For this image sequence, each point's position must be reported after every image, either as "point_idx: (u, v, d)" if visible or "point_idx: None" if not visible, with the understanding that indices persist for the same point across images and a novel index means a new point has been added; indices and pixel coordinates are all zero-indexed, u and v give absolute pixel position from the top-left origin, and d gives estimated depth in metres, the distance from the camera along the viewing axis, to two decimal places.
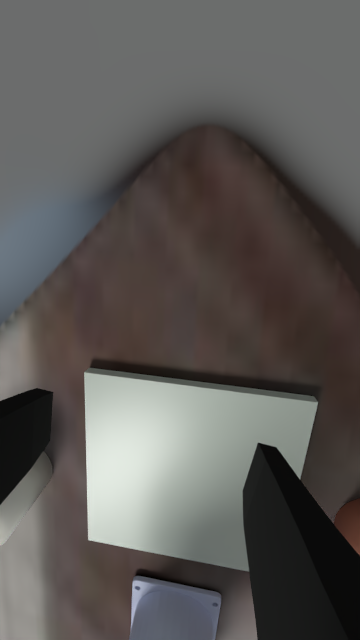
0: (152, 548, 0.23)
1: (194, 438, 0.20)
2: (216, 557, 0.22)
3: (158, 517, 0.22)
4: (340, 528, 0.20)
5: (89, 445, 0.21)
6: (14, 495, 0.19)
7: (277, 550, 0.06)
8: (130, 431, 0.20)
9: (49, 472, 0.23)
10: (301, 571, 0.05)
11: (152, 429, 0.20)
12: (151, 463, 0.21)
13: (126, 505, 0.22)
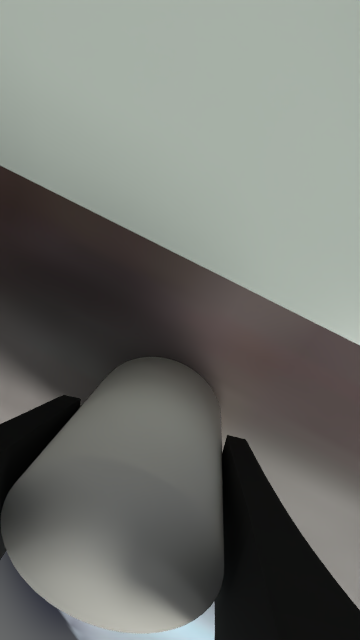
0: None
1: None
2: None
3: None
4: None
5: (120, 216, 0.08)
6: (105, 421, 0.06)
7: (233, 537, 0.06)
8: (104, 68, 0.07)
9: (180, 368, 0.10)
10: (248, 556, 0.05)
11: None
12: (221, 35, 0.07)
13: (340, 192, 0.07)
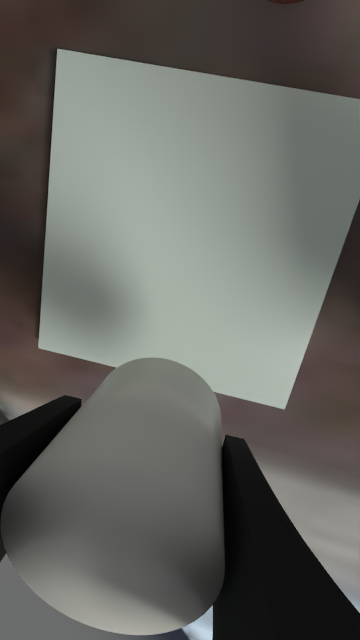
0: (307, 319, 0.15)
1: (115, 229, 0.15)
2: (334, 217, 0.14)
3: (246, 299, 0.15)
4: None
5: None
6: (105, 421, 0.06)
7: (231, 537, 0.06)
8: (109, 312, 0.16)
9: (180, 369, 0.10)
10: (246, 555, 0.05)
11: (105, 283, 0.16)
12: (155, 293, 0.16)
13: (223, 341, 0.16)
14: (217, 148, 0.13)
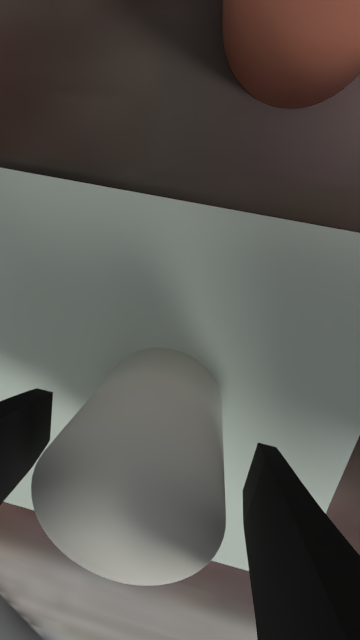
0: (323, 490, 0.12)
1: (75, 376, 0.12)
2: (358, 378, 0.10)
3: (244, 463, 0.12)
4: (284, 92, 0.08)
5: None
6: (121, 398, 0.07)
7: (277, 550, 0.06)
8: None
9: (184, 358, 0.10)
10: (301, 571, 0.05)
11: None
12: None
13: None
14: (202, 290, 0.10)
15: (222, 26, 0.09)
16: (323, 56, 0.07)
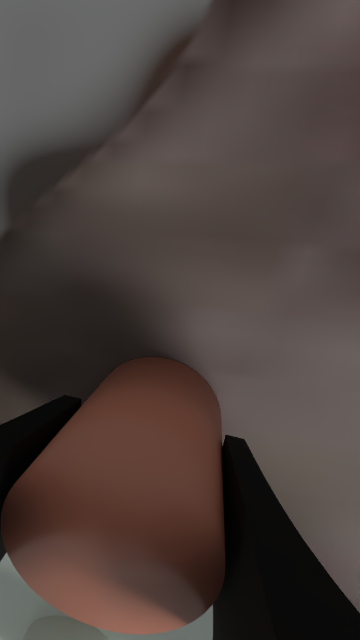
0: None
1: (0, 624, 0.14)
2: None
3: None
4: None
5: None
6: None
7: (231, 537, 0.06)
8: None
9: (82, 635, 0.13)
10: (246, 555, 0.05)
11: None
12: None
13: None
14: None
15: None
16: None
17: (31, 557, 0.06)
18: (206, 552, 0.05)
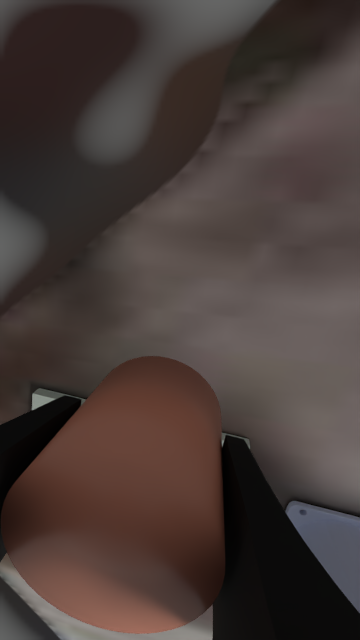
0: None
1: None
2: None
3: None
4: None
5: None
6: None
7: (231, 537, 0.06)
8: None
9: None
10: (245, 555, 0.05)
11: None
12: None
13: None
14: None
15: None
16: None
17: (31, 556, 0.06)
18: (206, 550, 0.05)
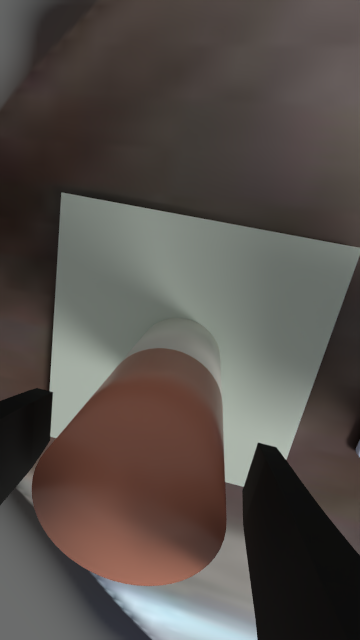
0: (292, 420, 0.16)
1: (116, 339, 0.17)
2: (313, 337, 0.15)
3: (236, 401, 0.17)
4: None
5: None
6: (159, 339, 0.12)
7: (277, 550, 0.06)
8: None
9: (194, 324, 0.15)
10: (301, 571, 0.05)
11: None
12: None
13: None
14: (206, 277, 0.15)
15: None
16: None
17: (58, 517, 0.07)
18: (210, 508, 0.06)
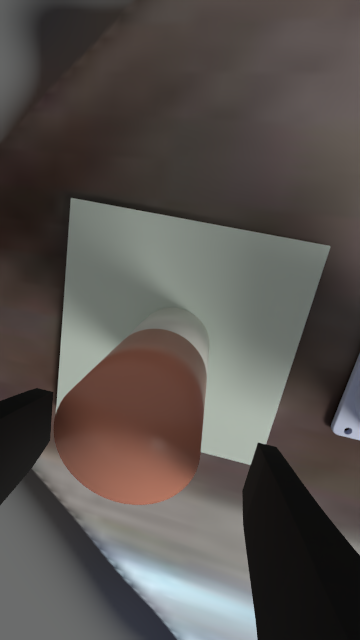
0: (273, 398, 0.19)
1: (118, 327, 0.19)
2: (290, 324, 0.17)
3: (224, 382, 0.19)
4: None
5: None
6: (154, 322, 0.14)
7: (277, 550, 0.06)
8: None
9: (186, 312, 0.17)
10: (301, 571, 0.05)
11: None
12: None
13: (206, 413, 0.20)
14: (197, 271, 0.17)
15: None
16: None
17: (73, 450, 0.09)
18: (188, 437, 0.09)
